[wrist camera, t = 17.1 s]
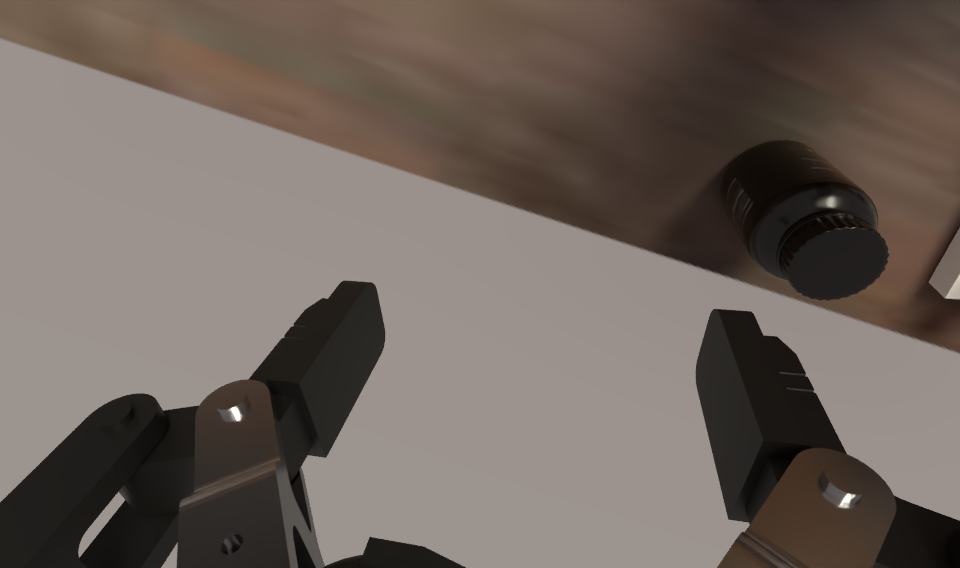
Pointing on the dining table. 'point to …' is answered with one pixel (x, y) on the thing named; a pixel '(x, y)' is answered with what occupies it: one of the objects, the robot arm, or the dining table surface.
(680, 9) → the dining table surface
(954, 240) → the block
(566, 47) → the dining table surface
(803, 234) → the supplement bottle
